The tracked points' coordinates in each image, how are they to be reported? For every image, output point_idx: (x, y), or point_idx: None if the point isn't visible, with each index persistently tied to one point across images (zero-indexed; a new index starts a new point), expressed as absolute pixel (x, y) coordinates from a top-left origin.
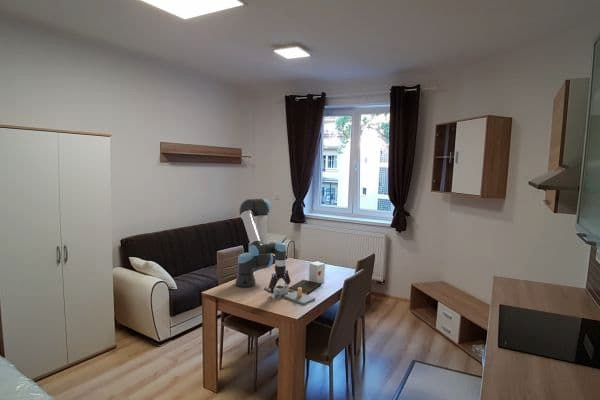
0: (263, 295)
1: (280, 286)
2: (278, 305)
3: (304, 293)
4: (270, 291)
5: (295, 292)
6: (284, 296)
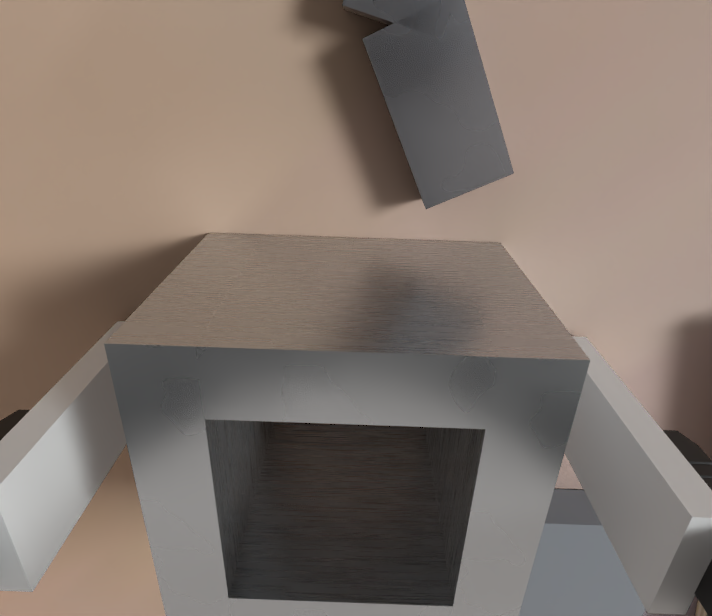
0: (31, 68)
1: (473, 439)
2: None
3: (703, 610)
4: (366, 17)
5: (608, 563)
6: None
